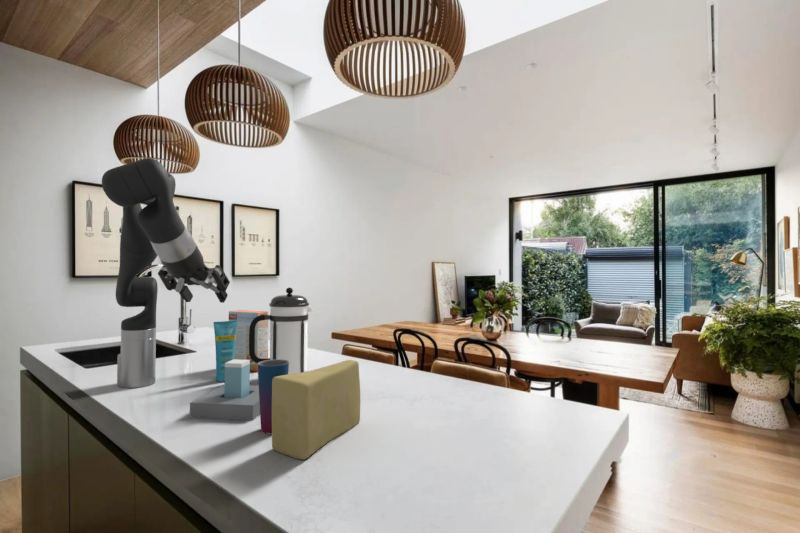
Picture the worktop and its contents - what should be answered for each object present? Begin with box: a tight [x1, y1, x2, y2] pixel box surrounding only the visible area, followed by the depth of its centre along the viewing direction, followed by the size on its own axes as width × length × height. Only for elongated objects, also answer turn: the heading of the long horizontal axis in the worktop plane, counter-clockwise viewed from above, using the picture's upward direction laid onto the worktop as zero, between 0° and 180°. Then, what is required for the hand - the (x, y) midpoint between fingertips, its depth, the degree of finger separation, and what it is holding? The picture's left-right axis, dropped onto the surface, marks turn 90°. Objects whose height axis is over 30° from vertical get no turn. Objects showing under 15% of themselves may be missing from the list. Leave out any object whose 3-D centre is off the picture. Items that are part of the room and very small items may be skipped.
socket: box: [189, 384, 260, 421], centre depth 108 cm, size 16×16×4 cm
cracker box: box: [228, 309, 269, 373], centre depth 150 cm, size 14×6×21 cm, turn 65°
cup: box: [257, 359, 289, 435], centre depth 93 cm, size 7×7×15 cm
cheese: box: [271, 359, 361, 461], centre depth 89 cm, size 22×10×15 cm, turn 147°
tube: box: [213, 320, 238, 383], centre depth 135 cm, size 7×5×19 cm, turn 134°
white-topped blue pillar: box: [224, 359, 251, 398], centre depth 108 cm, size 4×4×12 cm
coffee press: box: [249, 287, 314, 374], centre depth 138 cm, size 17×16×30 cm
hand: (206, 299), depth 99 cm, fingers open, 8 cm apart
